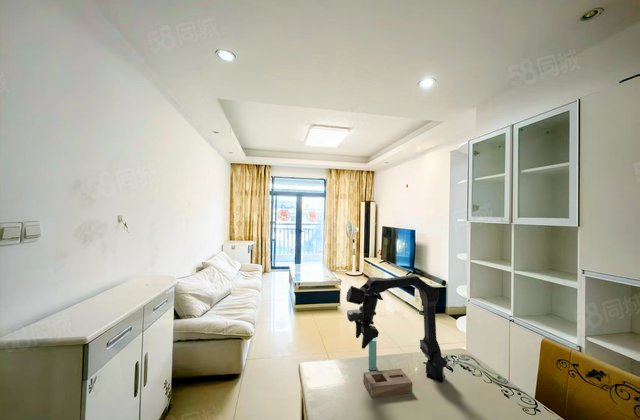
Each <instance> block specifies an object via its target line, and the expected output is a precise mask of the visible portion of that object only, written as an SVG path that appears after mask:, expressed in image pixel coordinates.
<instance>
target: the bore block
mask: <svg viewBox="0 0 640 420" xmlns="http://www.w3.org/2000/svg"><path fill="white" fill-rule="evenodd" d="M363 384H364V386H365V388H366V389H367V391H368V393H369V395H370V397H371V398H380V397H389V396H396V395H402V394H403V395H405V394H410V393H412V394H413V381H412V379H410V378H409V377H408V375H406V373H405V371H403V370H402V368H396V369H385V370H376V371H374V370H372V371H365V372H363Z"/></svg>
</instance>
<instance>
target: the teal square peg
mask: <svg viewBox="0 0 640 420" xmlns="http://www.w3.org/2000/svg"><path fill="white" fill-rule="evenodd" d="M369 369H370V370H369ZM368 370H369V371H374V370H376V371H377V337H376V338H374V339H373V340H372V341H371V342H370V343H369V344H368Z"/></svg>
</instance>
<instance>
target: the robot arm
mask: <svg viewBox="0 0 640 420" xmlns="http://www.w3.org/2000/svg"><path fill="white" fill-rule="evenodd" d="M411 286H414V287H415V289H416V290H418V292H419V293H418V294H419V298H420V300H421V302H422V306H423V328H424V335H423V336H424V337H423V338H422V339H419V343H420V344H419V349H420V350H421V352H422V354H423V355H424V356H425V358H427V361H426V362H425V374H426V376H425V377H426V378H428V379H432V380H434V381H437V382H440V383H443V382H444V378H445V372H444V371H445V369H444V368H447V366H448V365H447V364H448V361H447V360H446V359H445V358H444V357H443V356H442V352H441V346H440V344H439V342H438V340H437V325H436V324H437V322H436V320H437V319H436V306H437V304H438V301H439V290H438V289H437V288H436V287H435V286H432V285H430V284H428V283H426V282H425V281H424V280H423V279H421V278H420V277H419V276H417V275H416V274H410V275H403V276H395V277H387V278H386V277H385V278H383V277H374V276H372V277H369V278H368V279H367V280H366V282H365V283H364V284H363V285H362V286H360V288H359V287H356V286H354V285H350V287H349V288H348V291H347V292H346V297H345V298H346V299H345V300H346V302H347V303H352V304H355V305H359V308H358V309H349V310H346V316H347V320H348V321H349V322H351V323H353V322H354V323H355V339H359V338H360V337H361V335H362V337H361V338H362V339H361V349H362V350H365V348H366V347H367V346H369V343H370V342H371V341H372V340H373V339H374V338H376V339H377V338H378V337H379V335H380V332H379V330H378V329H377V327H376V326H375V325H374V324H375V322H374V321H373V320H374V317H375V316H376V315H377V312H376V308H377V304H378V300H380V301H384V298H383V296H382V294H381V293H384V292H386V291H387V290H390V289H396V288H397V289H398V288H403V287H411Z"/></svg>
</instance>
